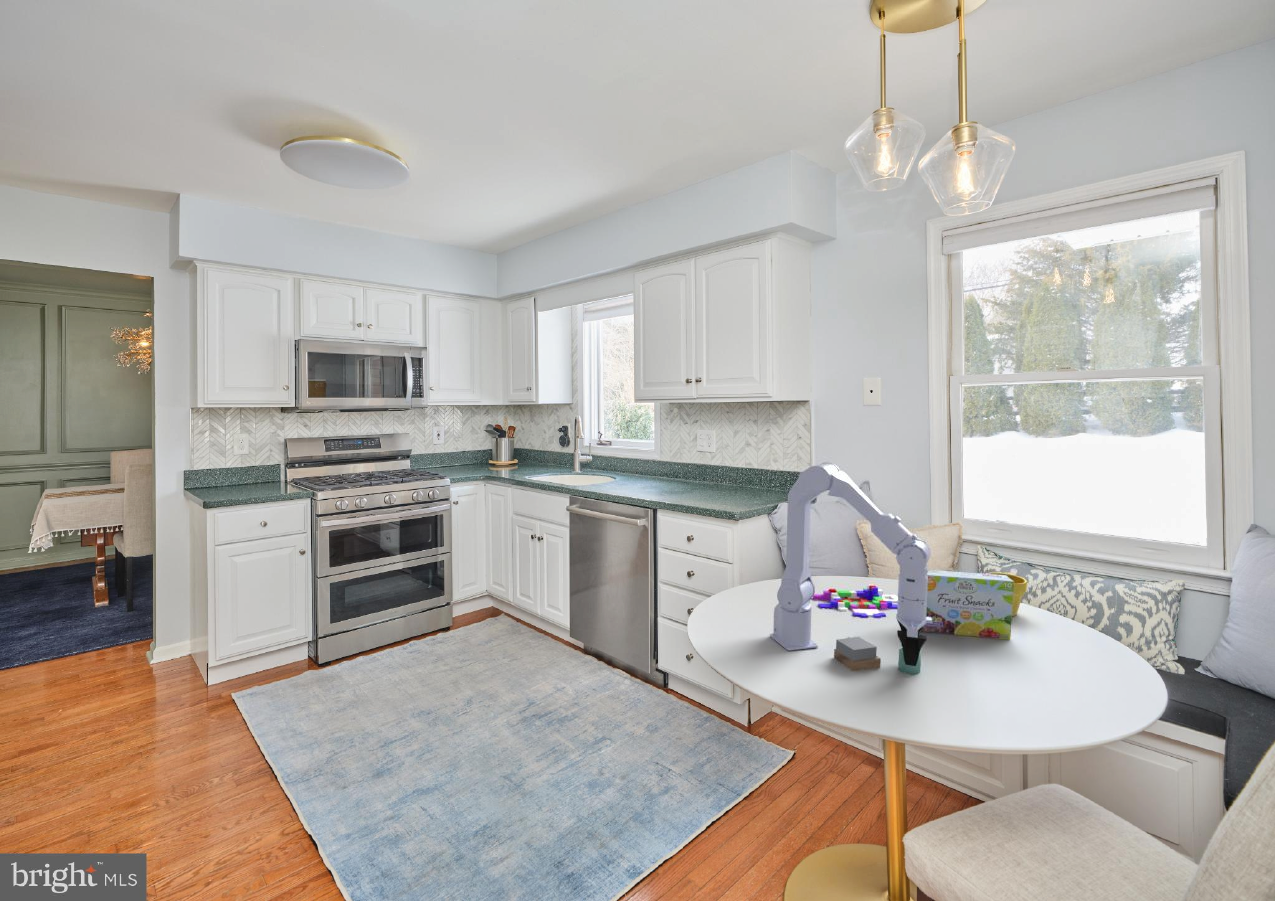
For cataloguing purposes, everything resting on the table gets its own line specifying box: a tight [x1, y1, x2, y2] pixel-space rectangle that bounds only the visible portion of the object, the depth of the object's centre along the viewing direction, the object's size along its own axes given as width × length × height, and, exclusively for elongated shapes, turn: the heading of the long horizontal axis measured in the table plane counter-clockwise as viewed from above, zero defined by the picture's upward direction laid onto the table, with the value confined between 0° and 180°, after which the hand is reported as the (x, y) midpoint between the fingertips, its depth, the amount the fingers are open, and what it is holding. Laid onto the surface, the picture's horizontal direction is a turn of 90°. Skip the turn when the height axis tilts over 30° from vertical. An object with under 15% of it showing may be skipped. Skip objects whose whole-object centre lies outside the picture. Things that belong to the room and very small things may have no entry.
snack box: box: [920, 569, 1014, 641], centre depth 154 cm, size 21×6×15 cm, turn 76°
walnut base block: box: [833, 648, 882, 672], centre depth 137 cm, size 7×7×2 cm
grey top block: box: [835, 636, 877, 661], centre depth 137 cm, size 6×6×2 cm
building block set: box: [812, 584, 898, 619], centre depth 175 cm, size 25×20×4 cm
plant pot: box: [985, 572, 1028, 617], centre depth 169 cm, size 10×10×10 cm
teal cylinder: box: [897, 647, 922, 675], centre depth 133 cm, size 4×4×4 cm
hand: (910, 657), depth 133 cm, fingers open, 7 cm apart
